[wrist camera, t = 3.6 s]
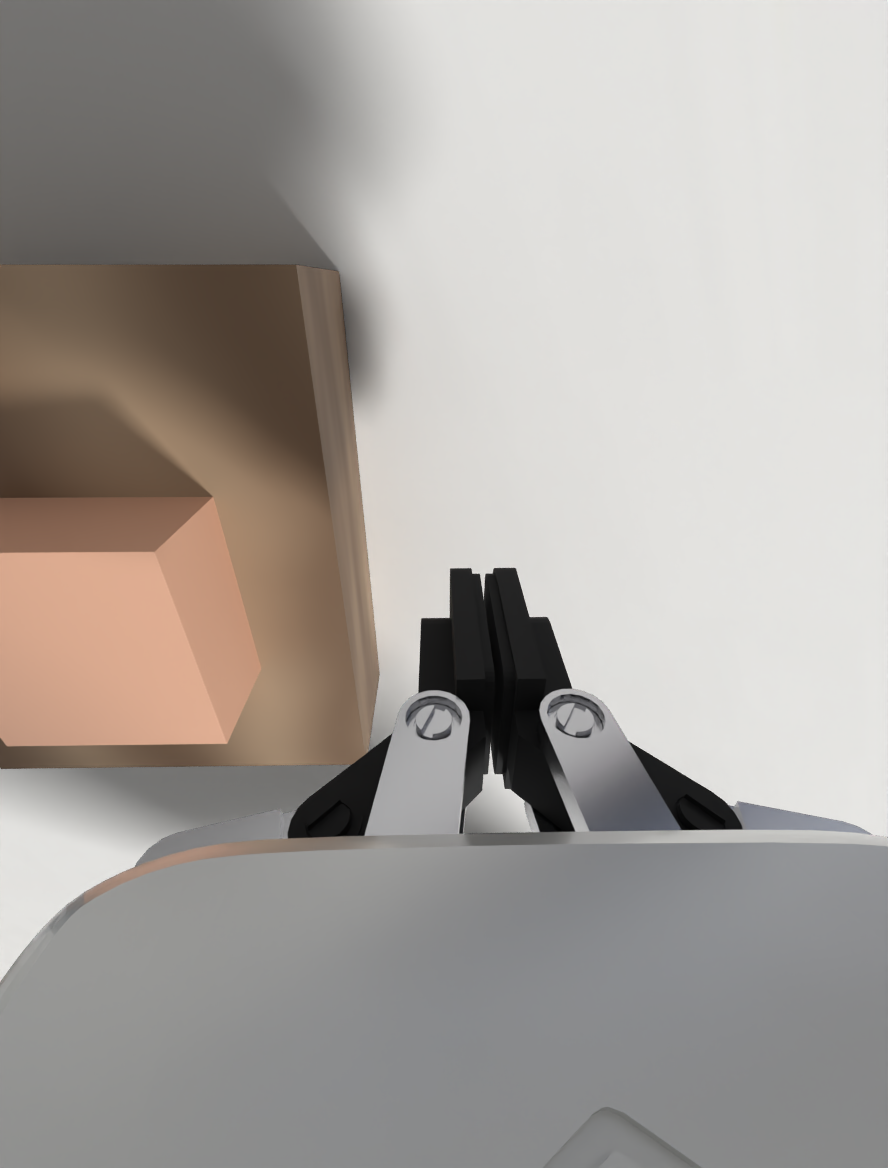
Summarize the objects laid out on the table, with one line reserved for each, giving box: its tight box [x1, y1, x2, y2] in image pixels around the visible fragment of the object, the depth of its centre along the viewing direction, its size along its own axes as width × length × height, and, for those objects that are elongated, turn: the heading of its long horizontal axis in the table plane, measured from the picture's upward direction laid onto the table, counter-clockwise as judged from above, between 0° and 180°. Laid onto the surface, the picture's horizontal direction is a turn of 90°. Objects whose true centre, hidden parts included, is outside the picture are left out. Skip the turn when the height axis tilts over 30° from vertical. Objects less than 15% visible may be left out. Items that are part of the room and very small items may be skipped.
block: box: [0, 497, 261, 746], centre depth 12 cm, size 6×6×3 cm
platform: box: [0, 265, 379, 769], centre depth 16 cm, size 14×16×5 cm
